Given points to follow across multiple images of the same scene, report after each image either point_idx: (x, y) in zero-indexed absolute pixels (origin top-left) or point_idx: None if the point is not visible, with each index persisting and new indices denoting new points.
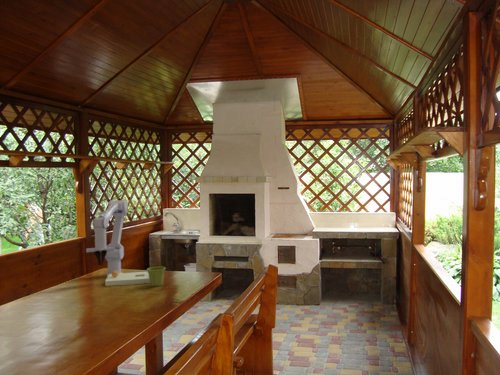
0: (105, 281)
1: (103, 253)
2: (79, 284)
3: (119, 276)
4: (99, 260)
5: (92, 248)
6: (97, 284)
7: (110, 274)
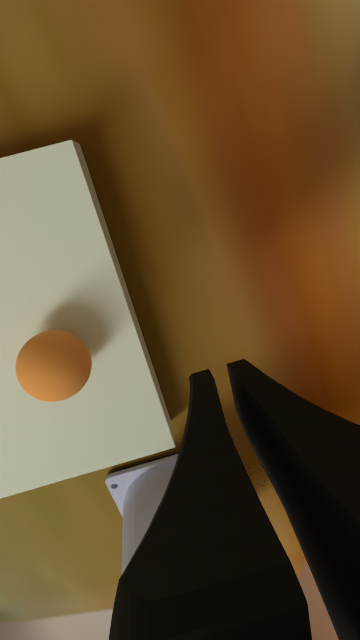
0: (68, 141)
1: (194, 579)
2: (353, 228)
3: None
4: (265, 400)
5: None
6: (192, 224)
7: (156, 431)
